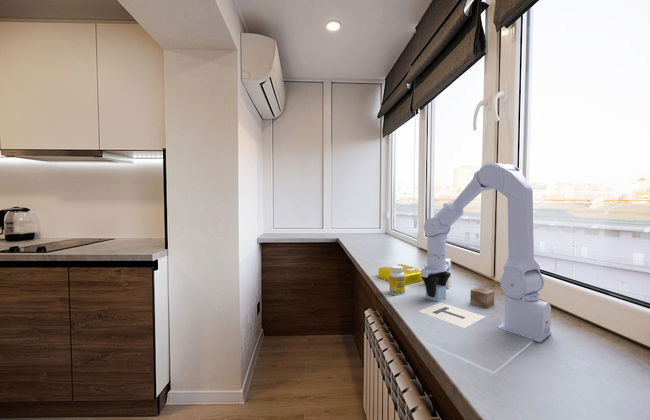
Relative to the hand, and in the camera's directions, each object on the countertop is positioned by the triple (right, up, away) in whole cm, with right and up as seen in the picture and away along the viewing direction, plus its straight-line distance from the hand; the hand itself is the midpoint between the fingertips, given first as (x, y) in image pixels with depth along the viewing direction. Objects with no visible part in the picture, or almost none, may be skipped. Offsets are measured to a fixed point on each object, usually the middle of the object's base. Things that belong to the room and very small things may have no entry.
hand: (435, 294), depth 98 cm
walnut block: (+13, -2, -5) cm, 14 cm away
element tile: (-5, -1, +26) cm, 26 cm away
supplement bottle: (-11, -2, +7) cm, 13 cm away
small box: (+7, -1, +16) cm, 17 cm away
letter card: (0, -2, -13) cm, 13 cm away
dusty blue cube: (0, -2, 0) cm, 2 cm away
